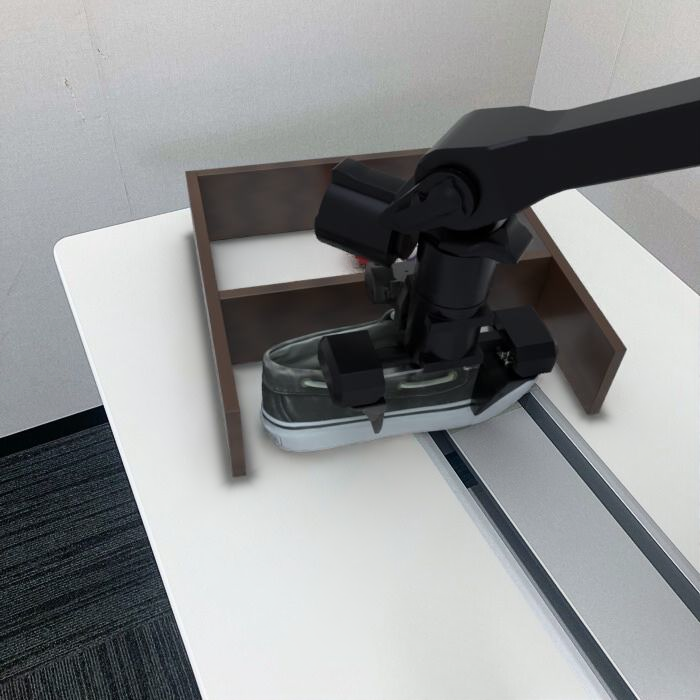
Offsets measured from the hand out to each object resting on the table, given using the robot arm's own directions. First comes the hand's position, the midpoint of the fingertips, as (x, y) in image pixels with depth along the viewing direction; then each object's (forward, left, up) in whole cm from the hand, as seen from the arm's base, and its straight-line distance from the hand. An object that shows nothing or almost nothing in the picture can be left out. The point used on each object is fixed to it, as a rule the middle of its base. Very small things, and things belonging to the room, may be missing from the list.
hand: (425, 420), depth 66 cm
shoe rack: (-1, -18, -4) cm, 18 cm away
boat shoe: (0, -4, -3) cm, 6 cm away
